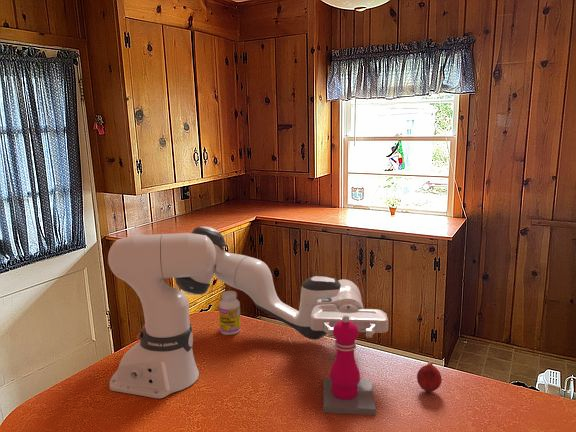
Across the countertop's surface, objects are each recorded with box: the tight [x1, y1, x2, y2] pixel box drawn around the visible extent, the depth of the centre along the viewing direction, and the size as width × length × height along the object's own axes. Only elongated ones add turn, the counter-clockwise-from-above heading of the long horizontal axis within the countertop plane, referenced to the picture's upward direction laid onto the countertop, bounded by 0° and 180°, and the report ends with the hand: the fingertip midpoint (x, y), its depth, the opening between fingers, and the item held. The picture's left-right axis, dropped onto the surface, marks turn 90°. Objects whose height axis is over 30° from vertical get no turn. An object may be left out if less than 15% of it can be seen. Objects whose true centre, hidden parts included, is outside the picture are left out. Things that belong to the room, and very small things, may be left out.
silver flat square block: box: [322, 377, 377, 416], centre depth 111 cm, size 12×12×2 cm
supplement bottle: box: [218, 290, 241, 336], centre depth 146 cm, size 7×7×13 cm
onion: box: [416, 361, 442, 393], centre depth 113 cm, size 6×6×8 cm
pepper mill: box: [329, 315, 361, 400], centre depth 109 cm, size 7×7×20 cm
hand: (350, 334), depth 114 cm, fingers open, 8 cm apart
